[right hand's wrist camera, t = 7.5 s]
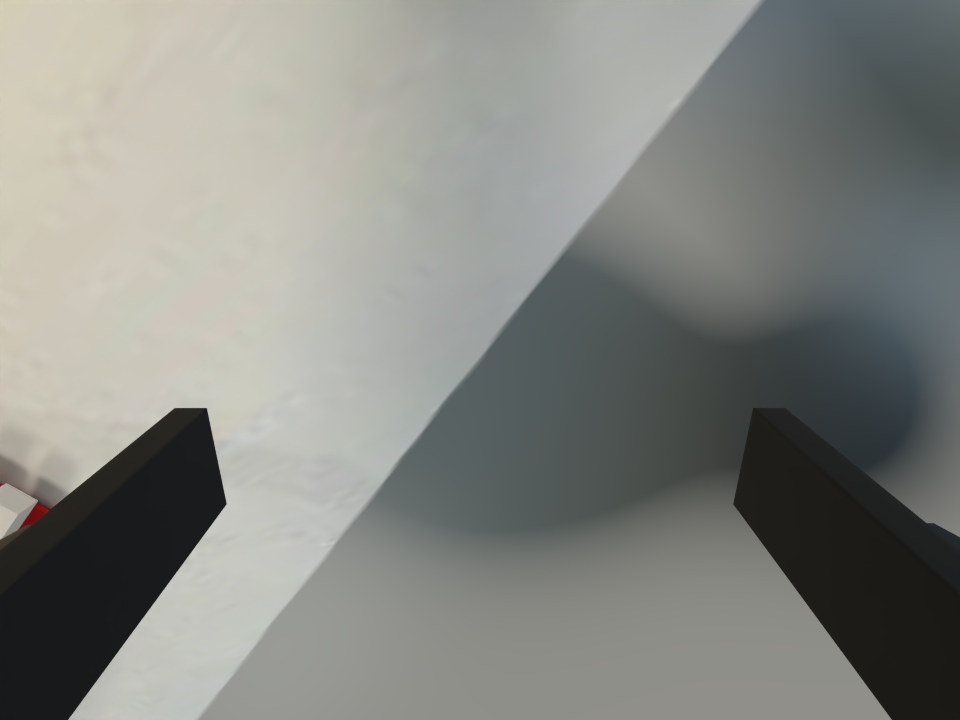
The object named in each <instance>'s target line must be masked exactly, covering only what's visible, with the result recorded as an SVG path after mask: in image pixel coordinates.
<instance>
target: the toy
mask: <svg viewBox="0 0 960 720" xmlns="http://www.w3.org/2000/svg"><path fill="white" fill-rule="evenodd" d="M37 502H38V500H36V499H34V498H33V497H31V496H29V495H27V494H25V493H24V492H22V491H20V490H18V489H16V488H15V487H13V486H11V485H9V484H7V483H6V484H4V485H1V484H0V539H2V538H4V537H6V536H8V535H10V534H12V533H13V532H15V531H17V530H19V529H21V528H23V527H25V526H26V525H32V524H33V523H35V522H36V521H37V520H38V519H39V518H41V517H42V516H43V515H44V514H46V513H47V512H48V511H49V509H47V508H45V507H43V506H41V505H39V504H37Z"/></svg>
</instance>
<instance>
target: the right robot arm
mask: <svg viewBox="0 0 960 720" xmlns="http://www.w3.org/2000/svg"><path fill="white" fill-rule="evenodd" d="M225 506H226V499H225V494H224V489H223V484H222V479H221V475H220V470H219V465H218V460H217V455H216V451H215V446H214V441H213V436H212V431H211V426H210V422H209V417H208V412H207V408H174V409H173V410H172V411H171V412H170V413H168V414H167V415H166V416H165V417H163V418H162V419H161V420H160V421H158V422H157V423H156V424H155V425H154V426H152V427H151V428H150V429H149V430H147V431H146V432H145V433H144V434H143V435H141V436H140V437H139V438H138V439H136V440H135V441H134V442H133V443H131V444H130V445H129V446H128V447H127V448H125V449H124V450H123V451H122V452H120V453H119V454H118V455H117V456H116V457H114V458H113V459H112V460H111V461H109V462H108V463H107V464H106V465H104V466H103V467H102V468H101V469H100V470H98V471H97V472H96V473H95V474H93V475H92V476H91V477H90V478H89V479H87V480H86V481H85V482H84V483H82V484H81V485H80V486H79V487H77V488H76V489H75V490H74V491H73V492H71V493H70V494H69V495H68V496H66V497H65V498H64V499H63V500H62V501H60V502H59V503H58V504H57V505H55V506H54V507H53V508H52V509H50V510H49V511H48V512H47V513H46V514H44V515H43V516H42V517H41V518H39V519H38V520H37V521H36V522H35V523H33V524H32V525H26V526H25V527H23V528H21V529H19V530H17V531H15V532H13V533H12V534H10V535H8V536H6V537H4V538H2V539H0V720H68V719H69V718H70V716H71V715H72V714H73V712H74V711H75V710H76V708H77V707H78V705H79V704H80V703H81V701H82V700H83V699H84V697H85V696H86V695H87V693H88V692H89V691H90V689H91V688H92V686H93V685H94V684H95V682H96V681H97V680H98V678H99V677H100V676H101V674H102V673H103V671H104V670H105V669H106V667H107V666H108V665H109V663H110V662H111V661H112V659H113V658H114V657H115V655H116V654H117V652H118V651H119V650H120V648H121V647H122V646H123V644H124V643H125V642H126V640H127V639H128V637H129V636H130V635H131V633H132V632H133V631H134V629H135V628H136V627H137V625H138V624H139V623H140V621H141V620H142V618H143V617H144V616H145V614H146V613H147V612H148V610H149V609H150V608H151V606H152V605H153V604H154V602H155V601H156V599H157V598H158V597H159V595H160V594H161V593H162V591H163V590H164V589H165V587H166V586H167V584H168V583H169V582H170V580H171V579H172V578H173V576H174V575H175V574H176V572H177V571H178V570H179V568H180V567H181V565H182V564H183V563H184V561H185V560H186V559H187V557H188V556H189V555H190V553H191V552H192V550H193V549H194V548H195V546H196V545H197V544H198V542H199V541H200V540H201V538H202V537H203V536H204V534H205V533H206V531H207V530H208V529H209V527H210V526H211V525H212V523H213V522H214V521H215V519H216V518H217V516H218V515H219V514H220V512H221V511H222V510H223V508H224V507H225ZM734 506H735V507H736V508H737V510H738V511H739V512H740V514H741V515H742V516H743V518H744V519H745V521H746V522H747V523H748V525H749V526H750V527H751V529H752V530H753V531H754V533H755V534H756V535H757V537H758V538H759V540H760V541H761V542H762V544H763V545H764V546H765V548H766V549H767V550H768V552H769V553H770V555H771V556H772V557H773V559H774V560H775V561H776V563H777V564H778V565H779V567H780V568H781V570H782V571H783V572H784V574H785V575H786V576H787V578H788V579H789V580H790V582H791V583H792V584H793V586H794V587H795V589H796V590H797V591H798V593H799V594H800V595H801V597H802V598H803V599H804V601H805V602H806V603H807V605H808V606H809V608H810V609H811V610H812V612H813V613H814V614H815V616H816V617H817V618H818V620H819V621H820V623H821V624H822V625H823V627H824V628H825V629H826V631H827V632H828V633H829V635H830V636H831V637H832V639H833V640H834V642H835V643H836V644H837V646H838V647H839V648H840V650H841V651H842V652H843V654H844V655H845V657H846V658H847V659H848V661H849V662H850V663H851V665H852V666H853V667H854V669H855V670H856V671H857V673H858V674H859V676H860V677H861V678H862V680H863V681H864V682H865V684H866V685H867V686H868V688H869V689H870V691H871V692H872V693H873V695H874V696H875V697H876V699H877V700H878V701H879V703H880V704H881V705H882V707H883V708H884V710H885V711H886V712H887V714H888V715H889V716H890V718H891V719H892V720H960V537H958V536H956V535H954V534H953V533H951V532H949V531H947V530H945V529H943V528H941V527H940V526H938V525H936V524H934V523H925V522H924V521H923V520H922V519H921V518H919V517H918V516H917V515H916V514H914V513H913V512H912V511H911V510H910V509H908V508H907V507H906V506H905V505H903V504H902V503H901V502H900V501H898V500H897V499H896V498H895V497H894V496H892V495H891V494H890V493H889V492H887V491H886V490H885V489H884V488H882V487H881V486H880V485H879V484H878V483H876V482H875V481H874V480H873V479H871V478H870V477H869V476H868V475H867V474H865V473H864V472H863V471H862V470H860V469H859V468H858V467H857V466H856V465H854V464H853V463H852V462H851V461H849V460H848V459H847V458H846V457H844V456H843V455H842V454H841V453H840V452H838V451H837V450H836V449H835V448H833V447H832V446H831V445H830V444H828V443H827V442H826V441H825V440H824V439H822V438H821V437H820V436H819V435H817V434H816V433H815V432H814V431H813V430H811V429H810V428H809V427H808V426H806V425H805V424H804V423H803V422H801V421H800V420H799V419H798V418H797V417H795V416H794V415H793V414H792V413H790V412H789V411H788V410H787V409H786V408H753V412H752V417H751V422H750V427H749V431H748V436H747V441H746V446H745V451H744V455H743V460H742V465H741V470H740V475H739V479H738V484H737V489H736V494H735V499H734Z"/></svg>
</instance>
